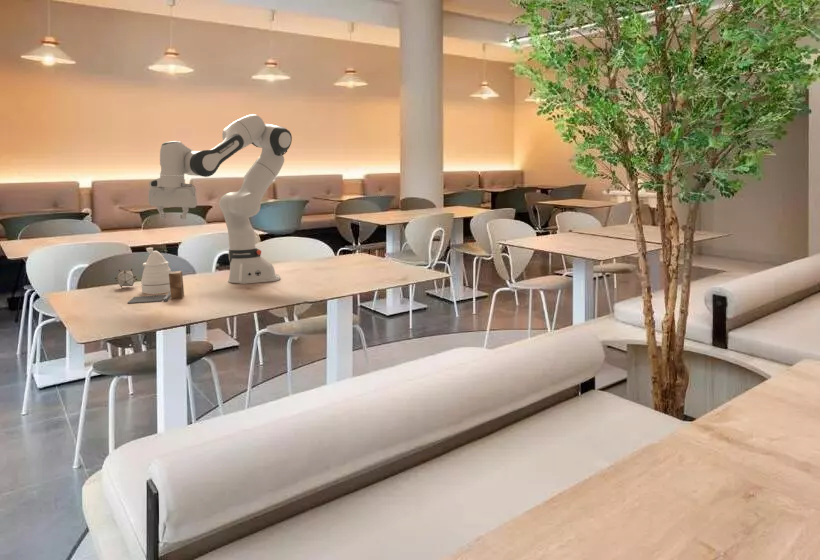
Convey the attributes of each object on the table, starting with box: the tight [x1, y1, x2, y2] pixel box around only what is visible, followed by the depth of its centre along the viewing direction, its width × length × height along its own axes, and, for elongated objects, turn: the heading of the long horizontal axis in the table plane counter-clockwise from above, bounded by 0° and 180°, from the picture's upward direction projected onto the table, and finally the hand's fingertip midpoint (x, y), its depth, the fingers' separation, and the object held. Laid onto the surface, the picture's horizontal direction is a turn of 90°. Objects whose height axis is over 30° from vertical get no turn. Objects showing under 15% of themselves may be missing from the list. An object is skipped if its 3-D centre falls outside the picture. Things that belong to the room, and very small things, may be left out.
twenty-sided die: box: [114, 268, 138, 288], centre depth 272 cm, size 9×8×10 cm
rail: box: [162, 292, 171, 303], centre depth 246 cm, size 1×14×1 cm, turn 12°
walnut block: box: [169, 270, 185, 301], centre depth 246 cm, size 4×6×10 cm, turn 12°
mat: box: [127, 294, 167, 305], centre depth 244 cm, size 12×12×1 cm
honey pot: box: [140, 247, 172, 295], centre depth 261 cm, size 13×13×18 cm
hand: (173, 218), depth 251 cm, fingers open, 8 cm apart
